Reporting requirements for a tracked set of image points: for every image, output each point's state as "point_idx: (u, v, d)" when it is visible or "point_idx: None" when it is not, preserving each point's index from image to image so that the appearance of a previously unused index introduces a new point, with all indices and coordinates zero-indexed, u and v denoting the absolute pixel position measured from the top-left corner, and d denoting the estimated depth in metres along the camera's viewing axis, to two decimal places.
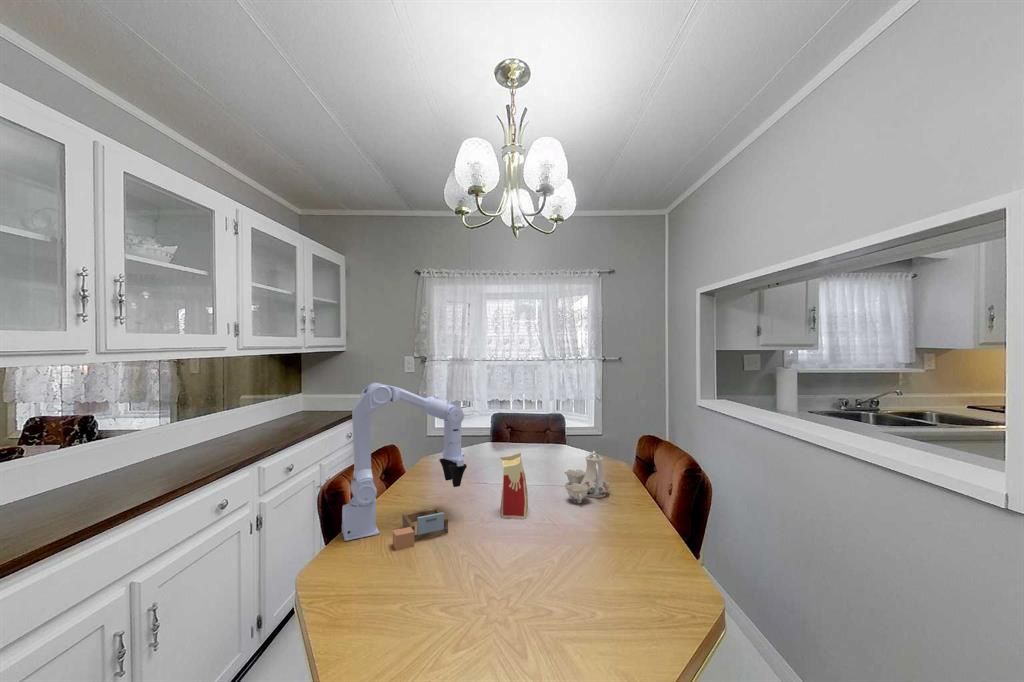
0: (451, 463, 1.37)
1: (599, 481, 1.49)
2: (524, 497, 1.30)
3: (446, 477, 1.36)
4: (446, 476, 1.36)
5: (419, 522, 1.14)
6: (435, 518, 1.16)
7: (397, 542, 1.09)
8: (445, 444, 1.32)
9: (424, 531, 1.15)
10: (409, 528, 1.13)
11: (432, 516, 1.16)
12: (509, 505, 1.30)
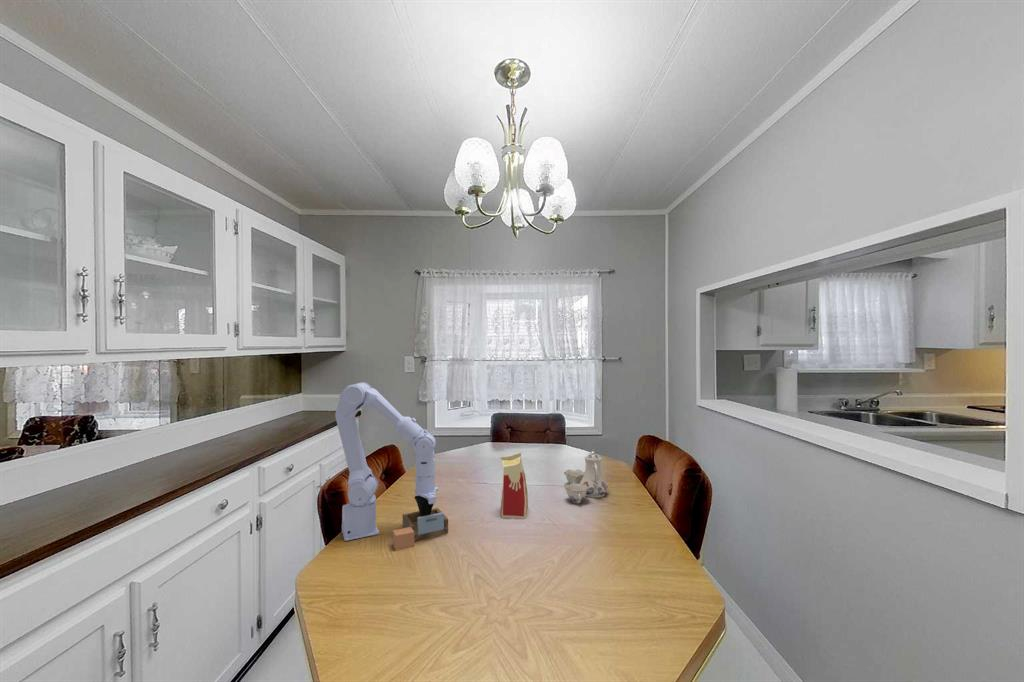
0: (428, 501, 1.22)
1: (598, 481, 1.49)
2: (524, 497, 1.30)
3: None
4: None
5: (419, 522, 1.14)
6: (435, 518, 1.16)
7: (397, 542, 1.09)
8: (416, 478, 1.20)
9: (424, 531, 1.15)
10: (409, 528, 1.13)
11: (432, 516, 1.16)
12: (509, 505, 1.30)
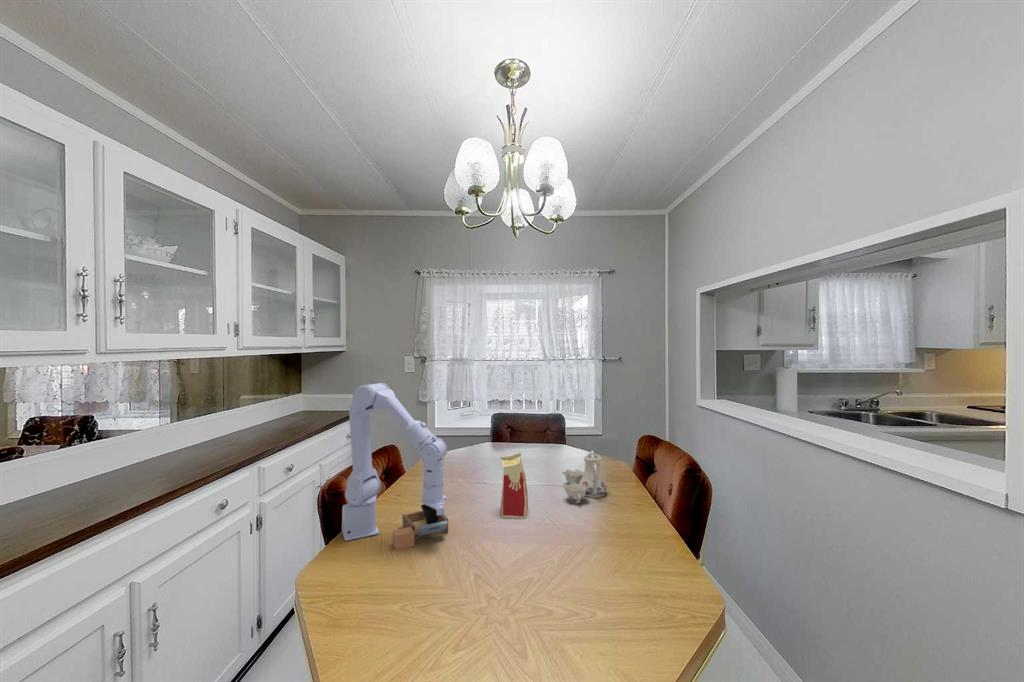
0: (435, 510, 1.16)
1: (597, 481, 1.49)
2: (524, 497, 1.31)
3: None
4: None
5: (421, 530, 1.12)
6: (438, 527, 1.14)
7: (397, 542, 1.09)
8: (424, 487, 1.13)
9: (424, 533, 1.14)
10: (409, 528, 1.13)
11: (435, 526, 1.13)
12: (509, 505, 1.30)
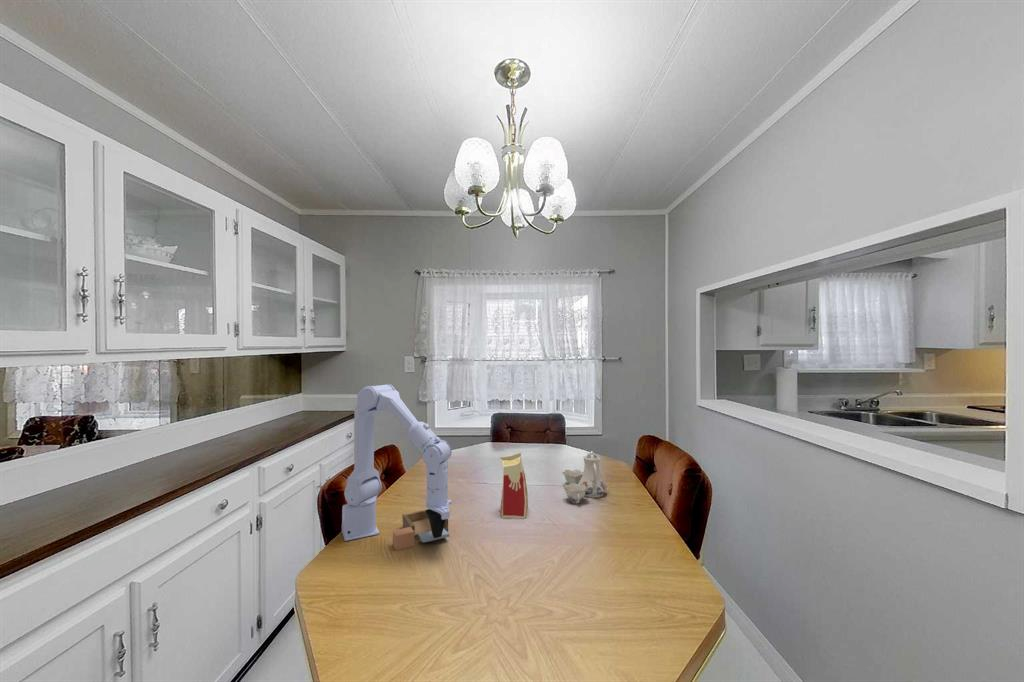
0: None
1: (597, 481, 1.49)
2: (524, 497, 1.30)
3: None
4: None
5: None
6: None
7: (397, 542, 1.09)
8: (428, 490, 1.10)
9: None
10: (409, 528, 1.13)
11: None
12: (509, 505, 1.30)
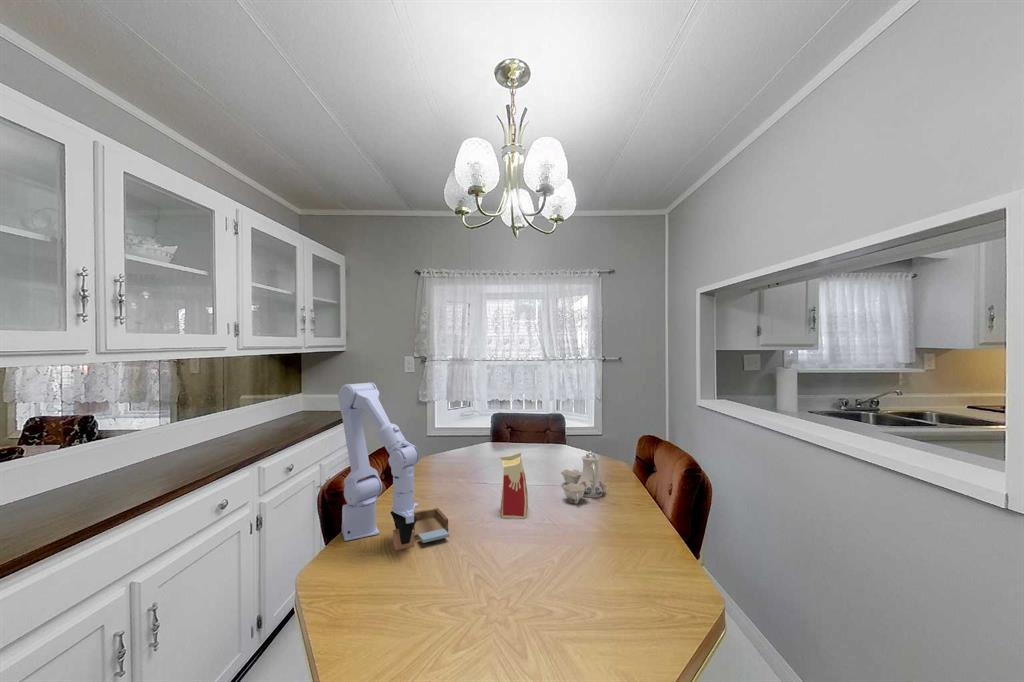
0: None
1: (596, 481, 1.49)
2: (524, 497, 1.30)
3: None
4: None
5: None
6: None
7: (397, 542, 1.09)
8: (394, 494, 1.10)
9: None
10: None
11: None
12: (509, 505, 1.30)
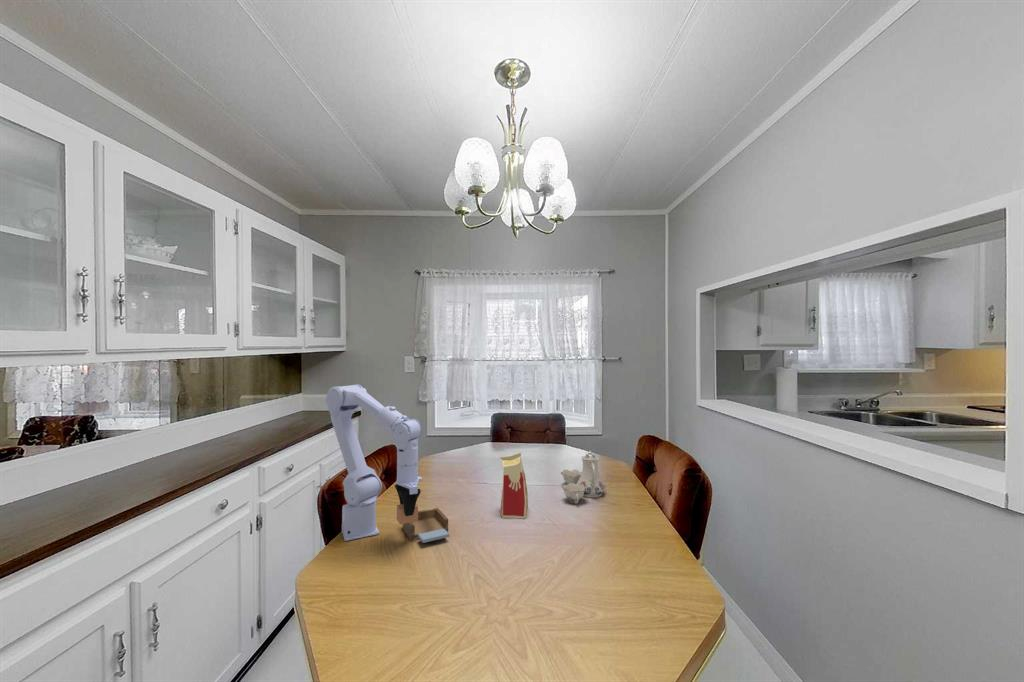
0: None
1: (595, 481, 1.49)
2: (524, 497, 1.31)
3: None
4: None
5: None
6: None
7: (401, 516, 1.11)
8: (398, 467, 1.12)
9: None
10: None
11: None
12: (509, 505, 1.30)
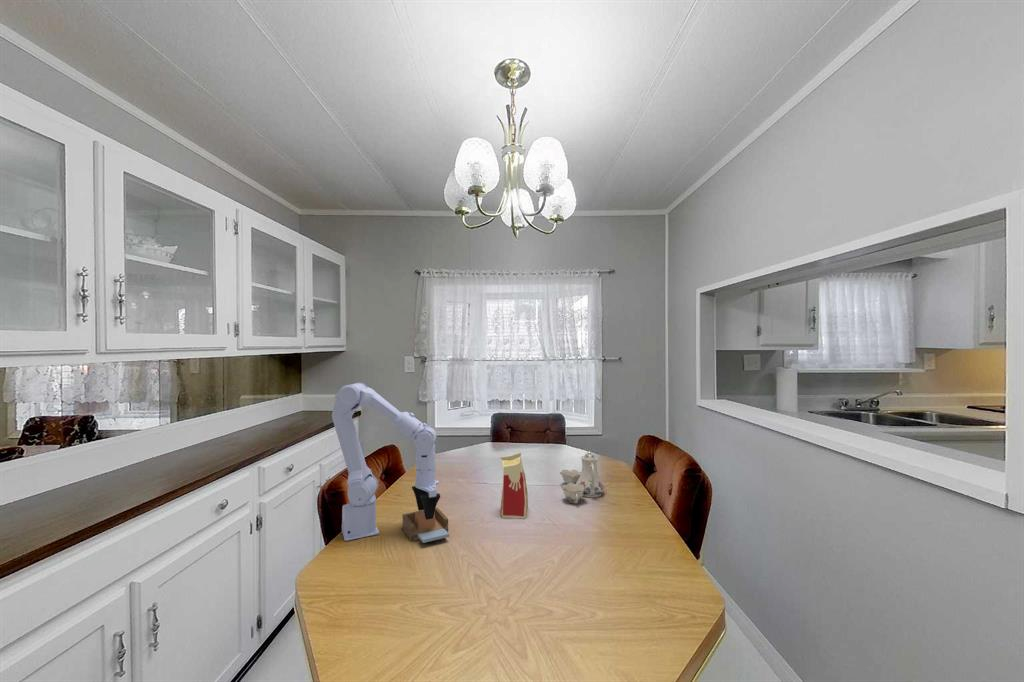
0: (425, 491, 1.25)
1: (595, 481, 1.49)
2: (524, 497, 1.30)
3: (419, 507, 1.24)
4: (419, 506, 1.24)
5: None
6: None
7: (419, 522, 1.18)
8: (417, 471, 1.19)
9: None
10: None
11: None
12: (509, 505, 1.30)
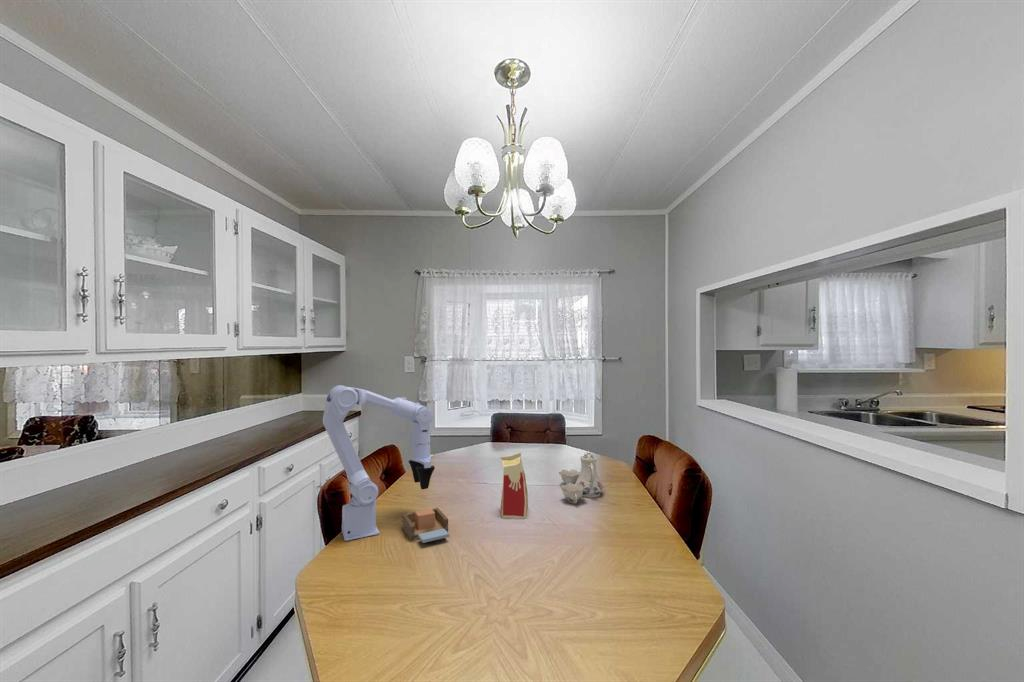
0: (420, 465, 1.34)
1: (594, 481, 1.49)
2: (524, 497, 1.30)
3: (415, 479, 1.33)
4: (415, 478, 1.33)
5: None
6: None
7: (419, 522, 1.18)
8: (413, 445, 1.29)
9: None
10: (430, 510, 1.23)
11: None
12: (509, 505, 1.30)
